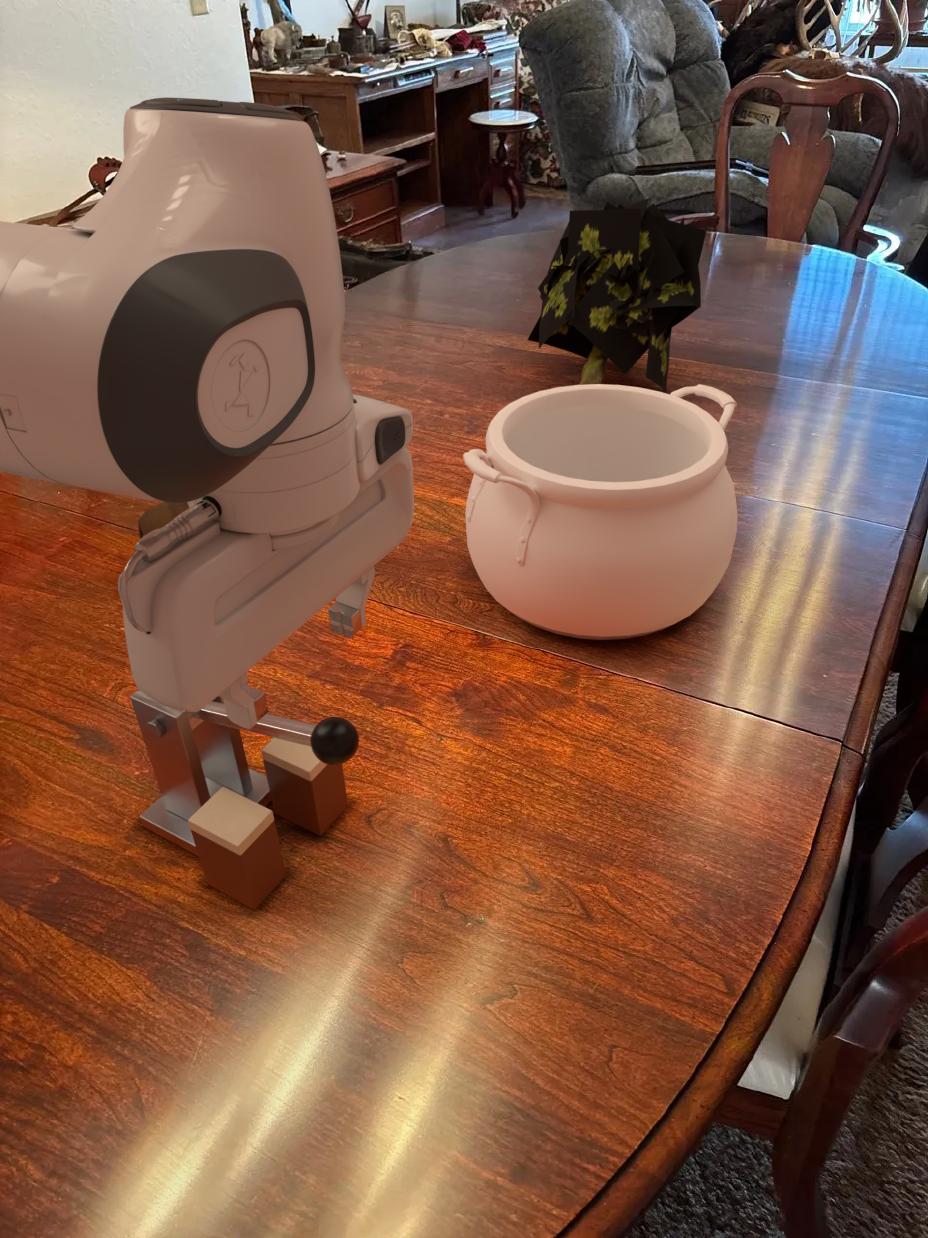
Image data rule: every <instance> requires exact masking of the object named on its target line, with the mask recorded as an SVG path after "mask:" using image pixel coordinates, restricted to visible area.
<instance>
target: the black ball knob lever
mask: <svg viewBox="0 0 928 1238" xmlns="http://www.w3.org/2000/svg"><path fill="white" fill-rule="evenodd" d="M187 714H188V717H189V721H190V725H191V728H192V730H194V729H195V728H196V727H197V726H198V725H200V724H201V723H202V722H203V721H204V720H205V721H209V722H213V723H217V724H221V725H225V726H229V727H233V728H237V729H240V731H245V732H250V733H254V734H258V735H261V736H264V737H265V736H266V737H270V738H272V739H273V738H277V739H282V740H286V741H290V742H294V743H298V744H302V745H306V746H310V747H311V748H312V751H313V753H314V755H315V756H316V757H317V758H318V759H319V760H320V761H321V762H323V763H325V764H328V765H340V764H342V765H343V764H345V763H348V762H349V761H350V760H352V759H353V757H354V756H355V755H356V753H357V751H358V749H359V745H360V737H359V732H358V730H357V728H356V726H355V725H354V724H353V722H351V721H350V720H348V719H346V718H344V717H341V716H330V717H326V718H324V719H321V721H319V722H318V723H317V724H315V723H313V724H312V723H310V722H305V721H301V720H297V719H292V718H287V717H283V716H280V715H275V714H270V713H267V714H266V715H265V716H264V717H263V718H261V719H260V720H259V721H258V722H257V723H256V724H255V725H254V726H253V727H252V728H251V729H246V728H244V727H241V726H239V725H237V724H235V723H233V722H232V721H231V720H230V719H229V718H228V716H227V713H226V709H225V704H223V703H219V702H214V701H211V702H210V703H209V704H208V705H207V706H206V707H204V708H203V709H201V710H200V711H198V712H188V711H187Z"/></svg>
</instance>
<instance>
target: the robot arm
mask: <svg viewBox="0 0 928 1238" xmlns="http://www.w3.org/2000/svg"><path fill="white" fill-rule="evenodd" d="M122 127H123V128H122V131H123V135H122V136H123V141H122V142H123V159H122V162H121V165H120V167H119V169H118V172H117V173H116V175H115V177H114V179H113V180H112V182H111V183H110V185H109V187H108V188H107V190H106V191H105V193H104V194H103V195H102V196H101V198H100V199H99V200H98V202H97V203H96V204H95V205H94V206H93V207H92V208H91V209H90V210H89V211H88V212H87V213H85V214H84V216H81V217H80V218H79V219H78V220H76V221H75V222H73V223H72V224H71V227H72V228H69V227H68V228H67V227H59V226H49V225H40V224H39V225H38V224H29V223H19V222H11V221H10V222H9V221H0V473H2V474H7V475H14V476H18V477H23V478H28V479H33V480H38V481H43V482H47V483H52V484H57V485H61V486H67V487H72V488H79V489H85V490H89V491H94V492H100V493H103V494H109V495H114V496H120V497H125V498H131V499H137V500H141V501H148V502H172V503H182V502H187V503H188V506H189V509H187V510H186V511H184V512H182V513H181V514H180V515H178V516H177V517H176V518H175V519H173V520H172V521H171V522H170V523H169V524H167V525H165V526H164V527H162V528H160V529H156V530H154V531H152V532H150V533H148V534H146V535H145V536H144V537H142V538H141V539H140V538H139V540H137V542H136V543H135V545H134V553H133V554H132V556H130V558H129V559H128V561H127V562H126V564H125V567H124V568H123V571H122V572H121V573H120V574H119V576H118V579H117V589H118V595H119V598H120V602H121V605H122V616H123V628H124V634H125V642H126V649H127V650H126V651H127V655H128V660H129V665H130V666H129V667H130V670H131V675H132V679H133V681H134V684H135V686H136V687H137V689H138V690H139V689H140V690H141V691H142V692H143V693H144V694H146V695H148V696H149V697H151V698H153V699H155V700H157V701H159V702H161V703H163V704H166V705H168V706H171V707H174V708H177V709H180V710H184V711H188V712H198V711H200V710H201V709H203V708H204V707H206V706H207V705H208V704H209V703H210V702H211V701H213V700H214V699H215V698H216V697H217V696H219V697H221V698H223V700H224V704H225V709H226V713H227V716H228V718H229V719H230V720H231V721H232V722H233V723H235V724H237V725H239V726H241V727H244V728H246V729H251V728H252V727H253V726H254V725H255V724H256V723H257V722H258V721H259V720H260V719H261V718H263V717H264V716H265V715H266V714H269V713H268V712H269V708H268V706H267V701H268V700H267V696H266V692H265V691H264V690H263V691H262V690H260V689H259V688H251V686H250V685H248V684H247V683H248V681H249V677H248V672H249V671H251V669H252V668H254V667H255V666H256V665H257V664H258V663H260V661H262V660H263V659H265V658H266V657H267V656H268V655H270V653H272V652H273V651H274V650H275V649H276V648H277V647H278V646H280V645H281V644H282V643H283V642H285V641H286V640H287V639H288V638H289V637H291V636H292V635H293V634H294V633H295V632H297V631H298V630H299V629H300V628H301V627H303V626H304V625H305V624H306V623H308V622H309V621H310V620H311V619H313V618H314V617H315V616H316V615H318V613H319V612H321V611H322V610H323V609H324V608H325V607H326V606H328V605H329V604H330V603H332V602H333V601H334V600H335V601H334V603H333V604H331V605H329V607H328V608H327V611H328V618H329V619H330V620H329V627H330V629H331V630H332V632H334V633H335V634H337V635H343V636H344V637H345V638H348V639H350V638H353V637H354V636H355V635H356V634H357V633H358V632H360V631H361V630H362V629H363V628H364V627H365V626H366V625H367V615H366V604H367V602H368V598H369V596H370V593H371V589H372V586H373V582H374V579H375V577H376V568H375V565H377V564H378V563H380V561H382V560H383V559H384V558H385V557H386V556H387V555H389V554H390V553H391V552H392V551H394V550H395V549H396V548H397V547H399V546H400V545H401V544H402V543H403V542H404V541H406V540H407V537H408V535H409V532H410V531H411V528H412V524H413V521H414V516H415V483H414V468H413V460H412V459H413V458H412V455H411V452H410V450H409V448H408V446H409V445H410V443H411V442H412V439H413V434H414V433H413V432H414V419H413V413H412V412H411V410H410V409H408V408H404V407H402V406H399V405H397V404H394V403H390V402H387V401H383V400H379V399H376V398H373V397H368V396H364V395H360V394H355V393H353V388H352V385H351V383H350V380H349V378H348V375H347V372H346V370H345V367H344V363H343V358H342V339H343V331H344V328H345V323H346V314H347V313H346V312H347V311H346V300H345V299H346V298H345V287H344V276H343V267H342V258H341V250H340V244H339V235H338V229H337V223H336V218H335V212H334V211H335V210H334V207H333V206H334V205H333V201H332V196H331V190H330V187H329V182H328V178H327V173H326V169H325V167H324V162H323V159H322V155H321V152H320V149H319V146H318V143H317V139H316V138H315V136H314V135H315V134H314V133H313V130H312V128H311V127H310V125H309V124H308V123H307V122H306V121H304V120H303V119H301V118H300V117H298V116H297V115H295V114H294V112H292V111H289V110H288V109H286V108H283V107H279V106H275V105H272V104H266V103H260V102H259V103H258V102H249V101H237V102H236V101H226V100H218V99H207V98H206V99H205V98H191V97H190V98H189V97H169V96H168V97H157V98H149V99H145V100H142V101H140V102H139V103H137V104H135V105H132V106H130V107H129V108H127V109H126V111H125V112H124V116H123V126H122Z"/></svg>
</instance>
